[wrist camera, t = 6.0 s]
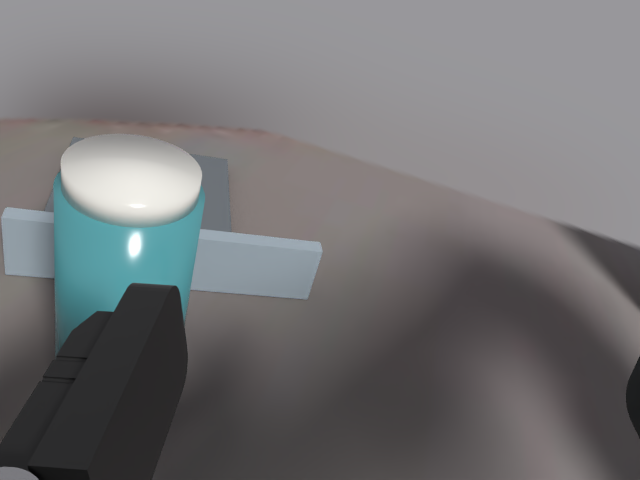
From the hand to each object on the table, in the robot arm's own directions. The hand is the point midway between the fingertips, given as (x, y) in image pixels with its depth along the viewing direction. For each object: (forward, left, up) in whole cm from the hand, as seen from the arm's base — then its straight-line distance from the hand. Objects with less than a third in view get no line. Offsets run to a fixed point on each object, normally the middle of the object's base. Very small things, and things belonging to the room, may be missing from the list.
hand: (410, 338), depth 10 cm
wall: (+3, -22, -18) cm, 28 cm away
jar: (+5, -13, -18) cm, 23 cm away
